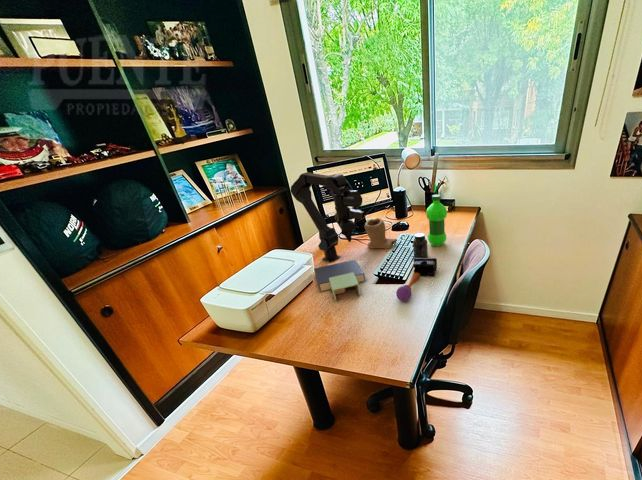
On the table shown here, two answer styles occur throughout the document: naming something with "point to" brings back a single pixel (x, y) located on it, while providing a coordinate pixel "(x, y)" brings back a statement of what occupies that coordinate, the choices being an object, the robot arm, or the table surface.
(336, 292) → the cream block
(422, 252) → the supplement bottle
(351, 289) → the walnut block
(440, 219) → the plastic bottle
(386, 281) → the table surface
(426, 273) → the end cap
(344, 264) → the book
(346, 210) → the robot arm
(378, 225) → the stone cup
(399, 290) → the kendama
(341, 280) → the green arch-shaped block
